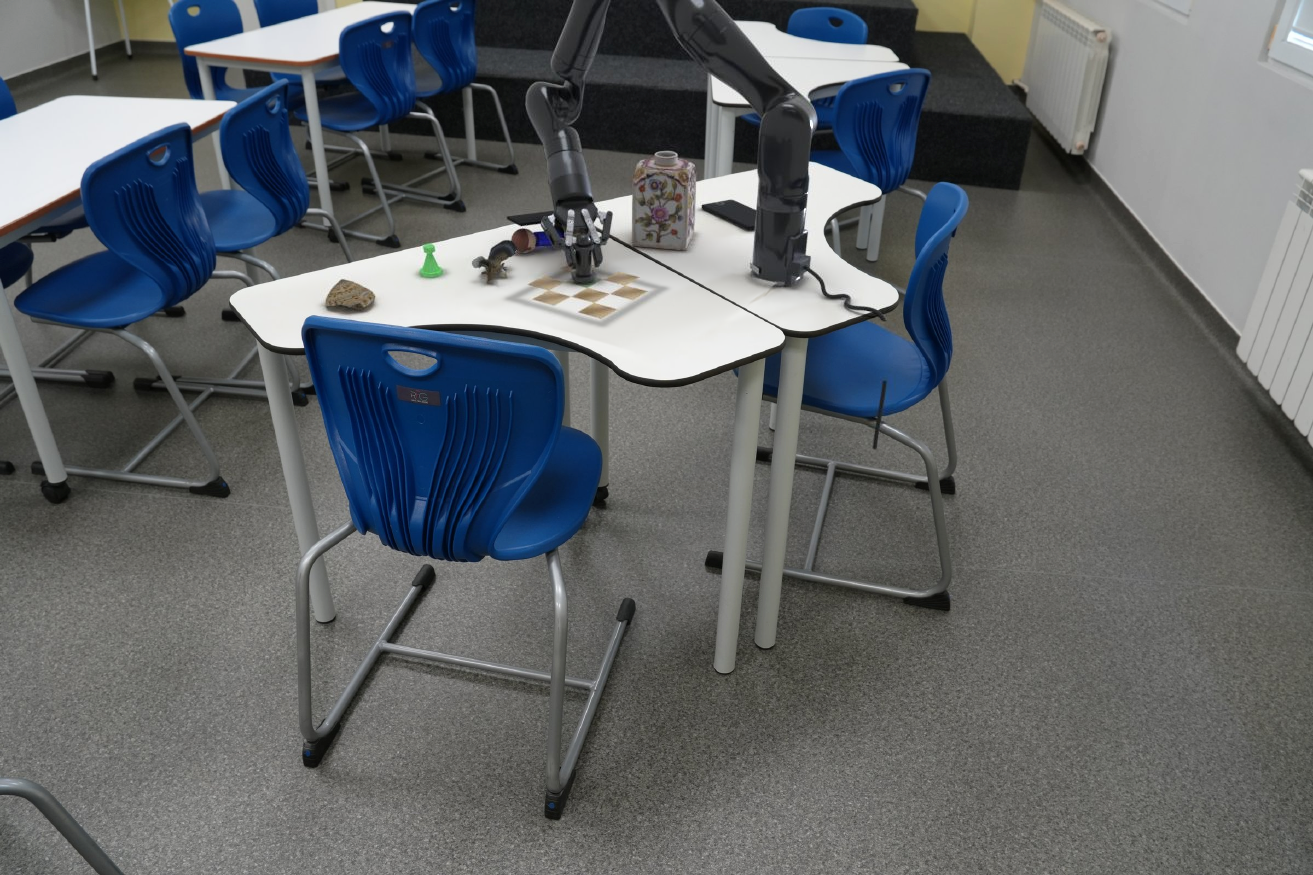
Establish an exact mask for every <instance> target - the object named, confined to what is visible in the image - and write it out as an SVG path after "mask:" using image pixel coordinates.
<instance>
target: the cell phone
mask: <svg viewBox="0 0 1313 875" xmlns="http://www.w3.org/2000/svg"><path fill="white" fill-rule="evenodd" d="M701 209H702V210H704V211H707V212H709V213H711V214H713V215H714V216H717V217H719V218H722V219H723V220H726V221H727V222H730V223H731V224H734V225H736V226H739V227H740V228H742V229H744V230H746V231H755V220H756V208H752V207H750V206H748V205H746V204H743V203H741V202H739V201H737V200H734V199H726V200H720V201H715V202H709V203H703V204H701Z"/></svg>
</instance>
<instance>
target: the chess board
mask: <svg viewBox="0 0 1313 875" xmlns="http://www.w3.org/2000/svg"><path fill="white" fill-rule="evenodd" d="M594 268H596V267H595V265H594V264H592V269H594ZM560 270H564V271H567V272H568V271H569V272H571V273H572V272H574V271H576V269H571V267H569V266H568V265H567V264H566V265H564V266H562V267H560ZM640 278H641V277H640V276H636V275H633V274H629V273H626V272H625V273H624V272H620V271H617V272H615V273H613V274H611V275H609V276H607V277H606V278H603V279H602V278H598V277H596V279H595V280H594V281H591V282H577V281H574V280H572V278H571V279H569V280H567V281H566V283H568V284H571V285H575V286H577V287H578V286H579V287H582V288H585V289H583V290H581V291H579V292H577V293H576V294H574V295H572V296H570V295H567V294H563V293H560V292H556V291H553V289H554V288H557V287H558V286H561V285H562V284H564V283H565V281H563V280H559V279H555V278H551V277H548V276H544V275H543V276H542V277H539V278H538V279H536V280H533V281H531V282H530V283H528V284H527V285H528V286H532V287H536V288H539V289H542V290H546V292H543V293H541V294H539V295H537V296H535V297H534V298H532V300H534V301H537V302H540V303H544V304H547V305H551V306H557V305H558V304H560V303H562V302H564V301H566V300H568V299H569V298H571V297H572V298H575V299H578V300H583V301H586V302H590V303H591V304H589V305H588V306H586V307H584V308H582V309H580V310H579V311H578V313H580V314H582V315H583V314H584V315H586V316H590V317H594V318H597V319H601V320H602V319H603V318H605V317H607V316H609V315H611V314H612V313H614V312H616V311H617V310H618V308H614V307H611V306H607V305H604V304H600V303H597V302H599V301H600V300H602V299H604V298H606V297H608V296H609V295H613V296H616V297H620V298H624V299H628V300H631V301H634V300H636V299H638V298H640V297H641V296H644V295H645V294H646V293H648V292H649V290H646V289H645V290H644V289H641V288H637V287H632V286H630V285H628V284H631V283H632V282H635V281H636V280H638V279H640ZM602 281H606V282H610V283H615V284H619V285H621V286H622V287H620V288H618V289H616V290H615V291H613V292H610V293H608V292H604V291H601V290H598V289H593V288H590V287H592V286H594V285H596V284H597V283H599V282H602Z"/></svg>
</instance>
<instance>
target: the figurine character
mask: <svg viewBox="0 0 1313 875" xmlns="http://www.w3.org/2000/svg"><path fill="white" fill-rule="evenodd" d="M553 213H554V210H548V211H540V212H531V213H523V214H514V215H507V216H506V220H507V221H509V222H511V223H513V224H515V225H517V226H519V227H525V228H518V229H517V230H515V231H514V232H513V234H512V235H511V238H510V241H511V240H512V242H514V243H515V246H516V247H517V248H516V252H518V253H520V254H528V253H530V252H532V251H533V250H534V249H535V247H536V248H542V247H553V245H552V244H551V242H550V240H549V239H548V237H547V235H546V234H545V232H544V230H540V231H532V230H530V229H528V228H526V227H527V226H536V225H541V221H542V217H543V216H551V215H553ZM554 223H555V225H554V228H555V229H556V231H557V233H558V234H559V236H560V238H561V239H562V240H564V229H563V228H562V227H561V226H560V225H559V224H558V223H557V222H556V221H554ZM579 234H582V233H576V234H573V237H572V238H574V239H576V238H577V236H578V235H579ZM573 244H574V242H572V246H573Z"/></svg>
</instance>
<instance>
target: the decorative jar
mask: <svg viewBox="0 0 1313 875" xmlns="http://www.w3.org/2000/svg"><path fill="white" fill-rule="evenodd" d="M697 174H698V172H697V168H696V166H695V164H694V163H692V162H691V161H688V160H686V159H683V158H679V156H678V153H677V152H675V151H671V150H662V151H657V152H655V153H654V156H653V157H649V158H645V159H641V160H639V161H638V162H637V164H636V166H635V170H634V174H633V178H632V182H631V184H632V192H631V193H632V195H631V197H632V198H631V245H632V247H638V248H639V247H640V248H650V249H651V248H653V249H663V250H676V251H686V250H687V248H688V246H689V244H690V241H691V239H692V237H693V235H694V233H695V223H696V204H697V203H696V202H697V201H696V200H697V198H696V197H697Z"/></svg>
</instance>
